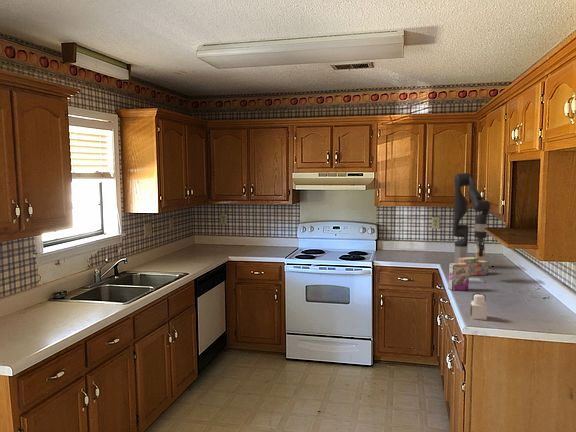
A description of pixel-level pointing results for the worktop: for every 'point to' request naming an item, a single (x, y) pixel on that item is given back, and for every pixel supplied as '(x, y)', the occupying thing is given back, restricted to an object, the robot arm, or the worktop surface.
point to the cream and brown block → (478, 253)
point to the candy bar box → (458, 276)
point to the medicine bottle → (478, 307)
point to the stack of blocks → (475, 265)
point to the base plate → (476, 280)
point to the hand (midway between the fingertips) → (479, 255)
